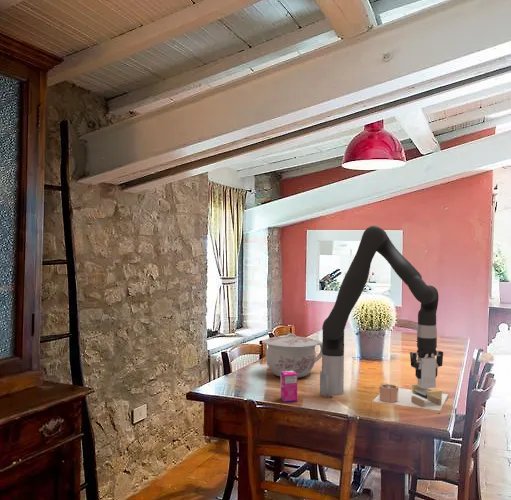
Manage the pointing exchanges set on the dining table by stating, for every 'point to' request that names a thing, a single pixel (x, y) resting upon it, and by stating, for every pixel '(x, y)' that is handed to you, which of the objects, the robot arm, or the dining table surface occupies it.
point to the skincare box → (427, 373)
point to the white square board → (418, 398)
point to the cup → (388, 393)
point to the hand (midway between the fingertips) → (426, 377)
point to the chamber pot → (291, 354)
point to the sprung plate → (423, 391)
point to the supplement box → (289, 386)
